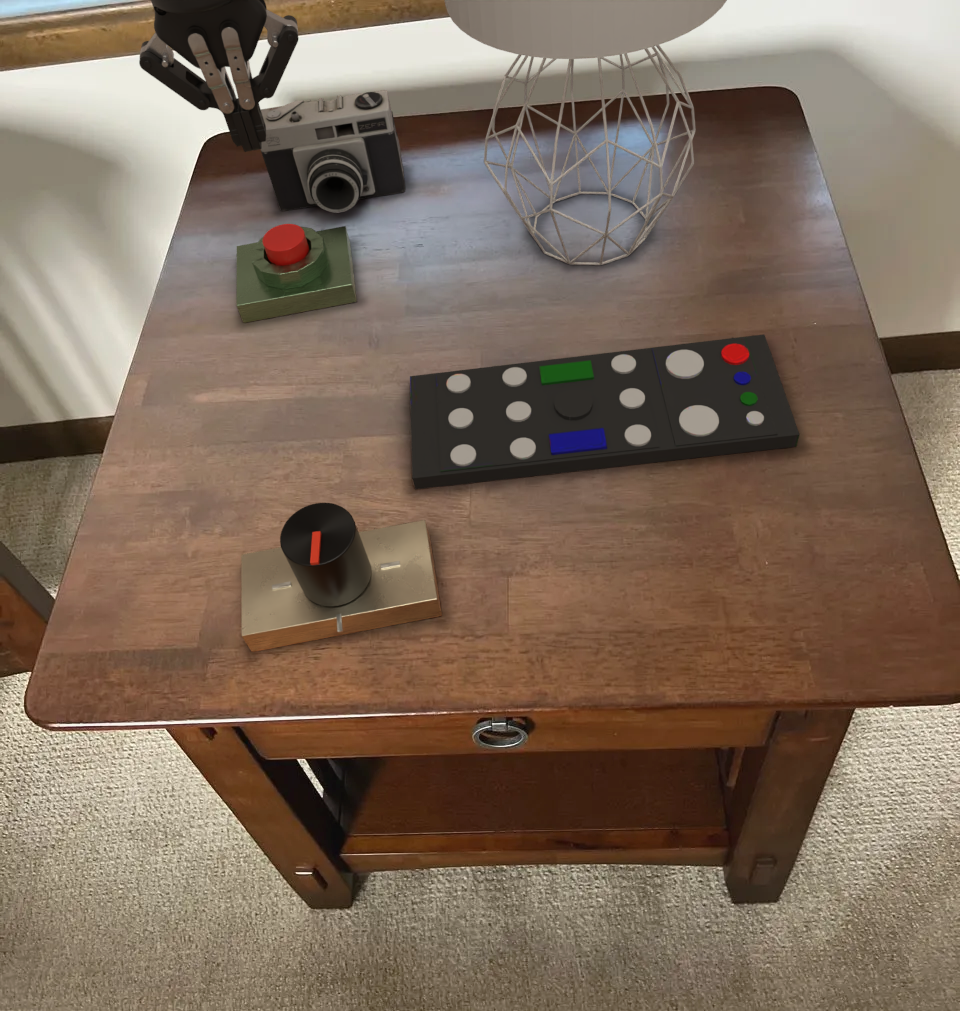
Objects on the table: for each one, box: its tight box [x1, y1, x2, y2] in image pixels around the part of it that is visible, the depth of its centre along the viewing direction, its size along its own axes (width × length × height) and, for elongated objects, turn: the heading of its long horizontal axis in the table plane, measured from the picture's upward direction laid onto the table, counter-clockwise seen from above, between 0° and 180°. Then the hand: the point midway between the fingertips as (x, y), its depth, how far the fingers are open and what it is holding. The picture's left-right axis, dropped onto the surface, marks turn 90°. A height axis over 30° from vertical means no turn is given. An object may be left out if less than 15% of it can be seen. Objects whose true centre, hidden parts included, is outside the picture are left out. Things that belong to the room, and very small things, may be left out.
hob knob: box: [279, 502, 371, 606], centre depth 64 cm, size 5×5×6 cm
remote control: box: [409, 334, 800, 490], centre depth 75 cm, size 11×30×2 cm, turn 94°
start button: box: [262, 223, 309, 266], centre depth 86 cm, size 4×4×2 cm
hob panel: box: [240, 519, 443, 653], centre depth 67 cm, size 14×9×3 cm
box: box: [235, 225, 358, 324], centre depth 89 cm, size 11×9×4 cm
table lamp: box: [444, 0, 728, 266], centre depth 74 cm, size 22×22×40 cm
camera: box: [260, 89, 406, 214], centre depth 93 cm, size 14×9×10 cm, turn 89°
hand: (252, 145), depth 78 cm, fingers closed
